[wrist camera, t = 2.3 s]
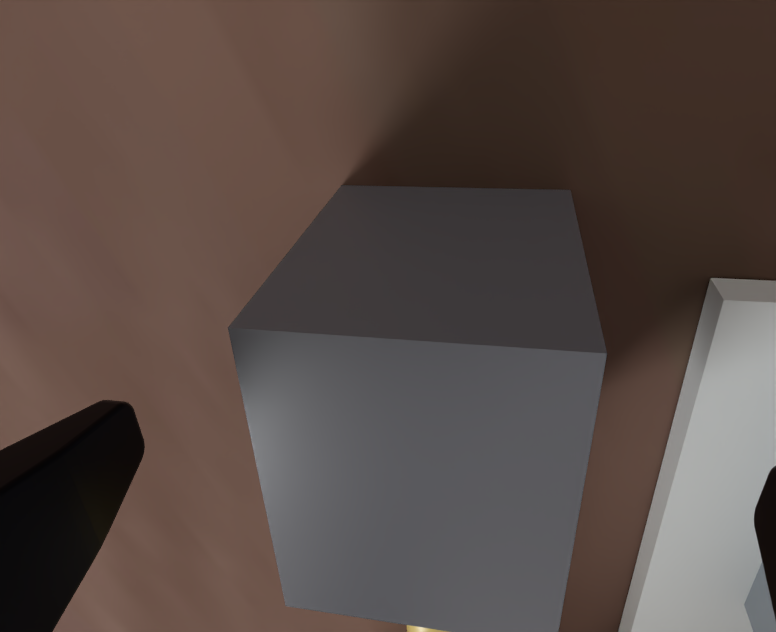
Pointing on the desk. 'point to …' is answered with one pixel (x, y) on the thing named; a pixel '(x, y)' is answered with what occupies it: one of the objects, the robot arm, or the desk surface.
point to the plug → (426, 405)
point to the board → (714, 477)
